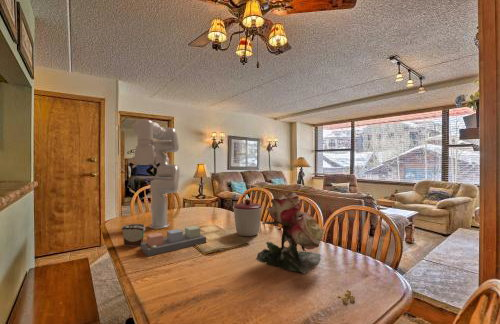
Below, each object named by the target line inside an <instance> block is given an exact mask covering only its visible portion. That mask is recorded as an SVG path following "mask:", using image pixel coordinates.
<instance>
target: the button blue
mask: <svg viewBox="0 0 500 324" xmlns="http://www.w3.org/2000/svg"><path fill="white" fill-rule="evenodd" d="M183 234H184V232H183V230H180V229H179V228H177V229H176V228H175V229H171V230H166V238H167V241H168V242H170V243H174V242H178V241H183Z"/></svg>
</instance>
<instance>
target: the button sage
mask: <svg viewBox="0 0 500 324" xmlns="http://www.w3.org/2000/svg"><path fill="white" fill-rule="evenodd" d="M184 234H185V237H187V238H188V239H192V238H197V237H200V234H201V227H199V226H196V225H192V226H185V227H184Z"/></svg>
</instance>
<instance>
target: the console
mask: <svg viewBox="0 0 500 324" xmlns="http://www.w3.org/2000/svg"><path fill="white" fill-rule="evenodd" d="M204 242H206V243H207V236H205V235H203V234H201V233H200V237H197V238H192V239H188V238H187V237H185V233H183V241H178V242H174V243H170V242H168V241H167V237H163V245H160V246H156V245H153V246H151V248H150V247H149V246H148V245H147V241H145V242H144V241H143V243H141V246H140V250H141V251H142V252H143V253H144V254H145V255H146V256H147V257H152V256H156V255H159V254H160V255H161V254H165V253H169V252H173V251H176V250H180V249H186V248H190V247H193V246H197V245H196V244H198V245H201V244H200V243H202V244H205V243H204Z"/></svg>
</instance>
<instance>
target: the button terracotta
mask: <svg viewBox="0 0 500 324" xmlns="http://www.w3.org/2000/svg"><path fill="white" fill-rule="evenodd" d="M163 238H164V235H163V234H162V233H161V232H154V233H149V234H146V242H147V245H148V246H149V247H150V248H151V246H153V245H156V246H160V245H163Z"/></svg>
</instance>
